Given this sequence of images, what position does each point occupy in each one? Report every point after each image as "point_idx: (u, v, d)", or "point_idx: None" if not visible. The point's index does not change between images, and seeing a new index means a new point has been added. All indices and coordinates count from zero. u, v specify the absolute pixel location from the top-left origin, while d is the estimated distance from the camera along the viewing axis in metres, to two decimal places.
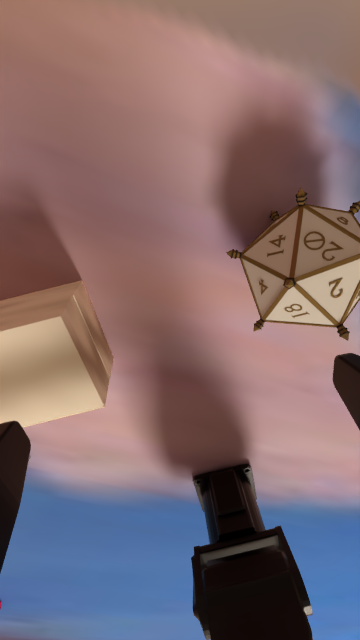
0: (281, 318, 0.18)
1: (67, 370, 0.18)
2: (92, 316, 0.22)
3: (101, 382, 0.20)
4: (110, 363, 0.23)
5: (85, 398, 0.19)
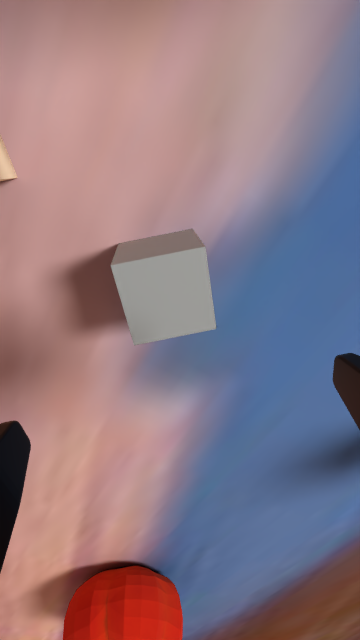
0: None
1: None
2: None
3: None
4: None
5: None
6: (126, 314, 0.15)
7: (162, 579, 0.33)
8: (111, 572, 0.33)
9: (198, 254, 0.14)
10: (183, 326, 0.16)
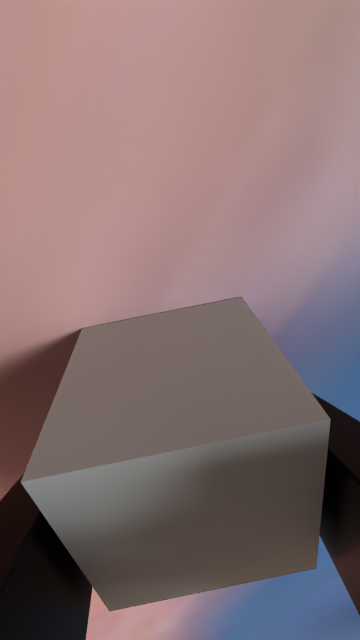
0: None
1: None
2: None
3: None
4: None
5: None
6: (84, 569, 0.05)
7: None
8: None
9: (305, 439, 0.04)
10: (236, 572, 0.06)
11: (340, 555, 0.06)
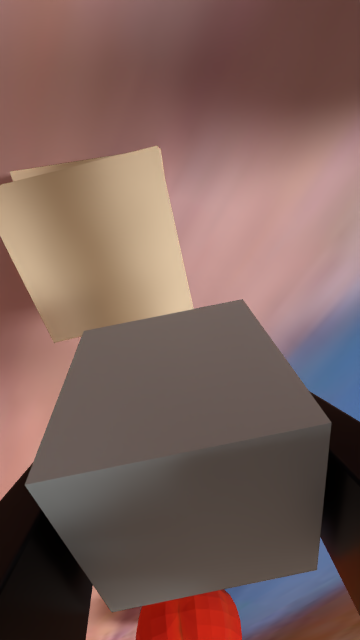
0: None
1: (77, 197, 0.12)
2: None
3: None
4: None
5: (136, 178, 0.12)
6: (87, 570, 0.05)
7: (221, 590, 0.37)
8: None
9: (306, 442, 0.04)
10: (237, 574, 0.06)
11: (340, 555, 0.06)
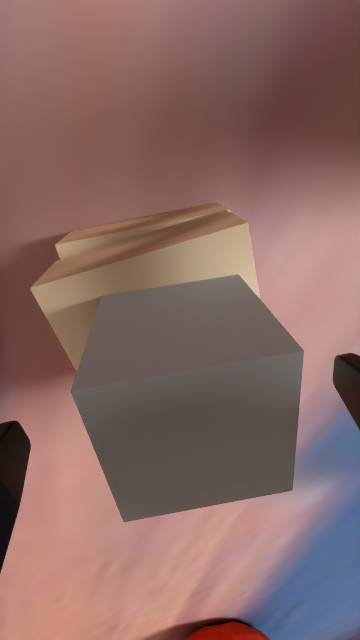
0: None
1: (148, 286, 0.10)
2: (122, 224, 0.13)
3: (206, 225, 0.10)
4: (214, 207, 0.13)
5: (219, 260, 0.09)
6: (108, 477, 0.07)
7: (261, 636, 0.35)
8: (214, 630, 0.35)
9: (284, 366, 0.06)
10: (228, 490, 0.08)
11: None
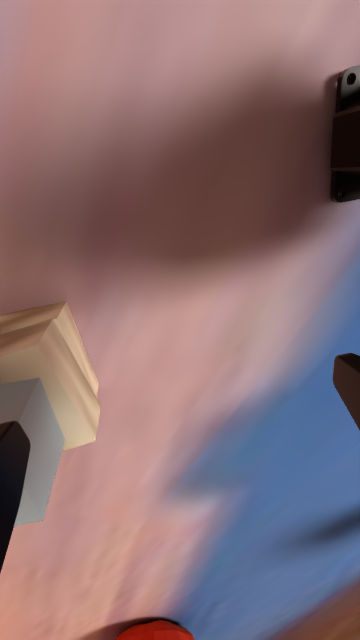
0: None
1: None
2: None
3: (24, 338, 0.15)
4: (56, 309, 0.18)
5: (25, 366, 0.15)
6: None
7: (182, 632, 0.40)
8: (140, 628, 0.39)
9: None
10: None
11: None
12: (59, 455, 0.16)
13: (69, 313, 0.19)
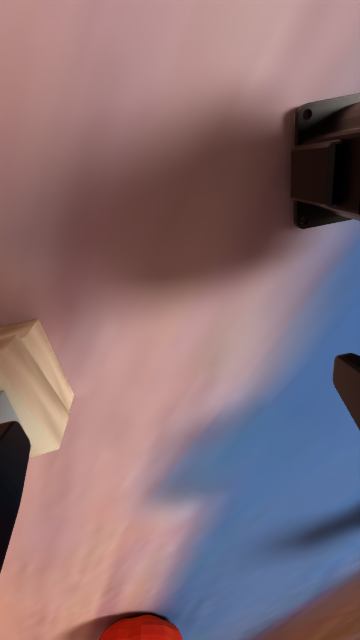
0: None
1: None
2: None
3: None
4: (27, 327, 0.19)
5: None
6: None
7: (169, 627, 0.41)
8: (128, 621, 0.41)
9: None
10: None
11: None
12: None
13: (41, 329, 0.20)
